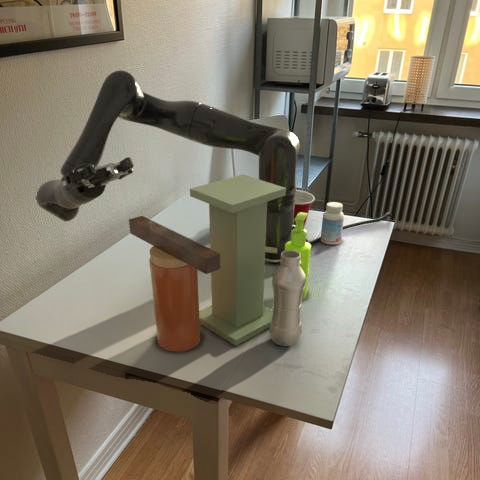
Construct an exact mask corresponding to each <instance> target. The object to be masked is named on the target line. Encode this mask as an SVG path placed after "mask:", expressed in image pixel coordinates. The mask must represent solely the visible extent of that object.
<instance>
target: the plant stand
mask: <svg viewBox="0 0 480 480" xmlns="http://www.w3.org/2000/svg"><path fill="white" fill-rule="evenodd" d="M285 195H286V188H284V187H281V186H278V185H275V184H272V183H268V182H265V181H262V180H259V178H255V177H252V176H249V175H246V174H239V175H235V176H231V177H228V178H224V179H221V180H220V179H219V180H217V181H213V182H210V183H206V184H202V185H197V186H195V187H191V188H189V197H191V198H193V199H196V200H198V201H201V202H203V203H206V204H208V211H209V212H208V215H209V248H210V249H212V250H214V251H216V252H218V253H220V269H219V270H216V271H214V272H211V273H210V280H211V281H210V283H211V285H210V286H211V287H210V288H211V305H208V306H207V307H204V308H202V309H199V315H200V325H202V326H204V327H205V328H207V329H208V330H210V331H211V332H213V333H215V334H216V335H218V336H219V337H221V338H222V339H223V340H225V341H227V342H229V343H230V344H232V345H233V346H238V345H241V344H242V343H243V342H245V341H247V340H250V339H251V338H253V337H255V336H257V335H258V334H260V333H262V332H264V331H266V330H269V328H270V323H271V320H272V315H273V310H272V309H270V308H269V307H267V306H265V305H264V289H265V265H266V262H265V242H266V216H267V201H270V200H273V199H276V198H279V197H282V196H285Z"/></svg>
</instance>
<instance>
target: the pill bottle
mask: <svg viewBox="0 0 480 480" xmlns="http://www.w3.org/2000/svg"><path fill="white" fill-rule="evenodd" d="M343 206H344V205H343V203H341V202H336V201H331V202H327V203H326V205H325V208H326V210H325V211H323V213H322V220H321V221H322V222H321V229H320V230H321V231H320V237H321V240H320V242H322V243H323V244H326V245H339V244H340V243H341V242H342V237H343V230H342V229H343V226H344V222H345V221H344V219H345V214H344V212H343V210H344V209H343V208H344V207H343Z"/></svg>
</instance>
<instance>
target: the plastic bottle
mask: <svg viewBox="0 0 480 480" xmlns="http://www.w3.org/2000/svg"><path fill="white" fill-rule="evenodd" d="M300 258H301V255H300V253H299V252H297V251H293V250H287V251H283V252H282V253H281V259H280V263H279V264H280V266H278V267H277V269H276V270H275V271H274V272H273V273H274V274H273V276H272V290H273V310H272V311H273V315H272V320H271V323H270V328H268V332H269V338H270V340H271V341H272V342H273V343H274V344H276V345H279V346H282V347H289V346H293V345H295V344H297V342H298V341H299V340H300V338H301V335H302V323H301V309H302V301H303V300H302V296H303V292H304V289H305V285H306V276H305V273H304V272H303V270H302V269H301V267H300V266H299V265H300V264H301V260H300Z"/></svg>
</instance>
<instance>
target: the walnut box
mask: <svg viewBox="0 0 480 480" xmlns="http://www.w3.org/2000/svg"><path fill="white" fill-rule="evenodd" d="M128 225H129V233H130V234H131V235H132V236H134V237H136V238H138V239H139V240H141V241H143V242H145V243H147V244H149V245H151V246H152V247H153V246H155V247H157V248H158V249H160V250H162V251H164V252H166V253H168V254H170V255H171V256H173V257H175V258H177V259H179V260H181V261H183V262H184V263H186V264H188V265H190V266H192V267H194V268H196V269H197V270H198V272H201V273H203V274H205V275H209V274H211V272H214V271H216V270H219V269H220V253H218V252H216V251H214V250H212V249H210V247H208V246H206V245H204V244H201V243H200V242H198V241H195V240H193V239H191V238H189V237H188V236H186V235H183V234H181V233H179V232H177V231H175V230H173V229H171V228H169V227H166V226H165V225H162V224H160V223H159V222H156V221H154V220H152V219H151V218H150V219H149V218H148V217H146V216H144V215H140V216H136V217H133V218H129V219H128Z"/></svg>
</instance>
